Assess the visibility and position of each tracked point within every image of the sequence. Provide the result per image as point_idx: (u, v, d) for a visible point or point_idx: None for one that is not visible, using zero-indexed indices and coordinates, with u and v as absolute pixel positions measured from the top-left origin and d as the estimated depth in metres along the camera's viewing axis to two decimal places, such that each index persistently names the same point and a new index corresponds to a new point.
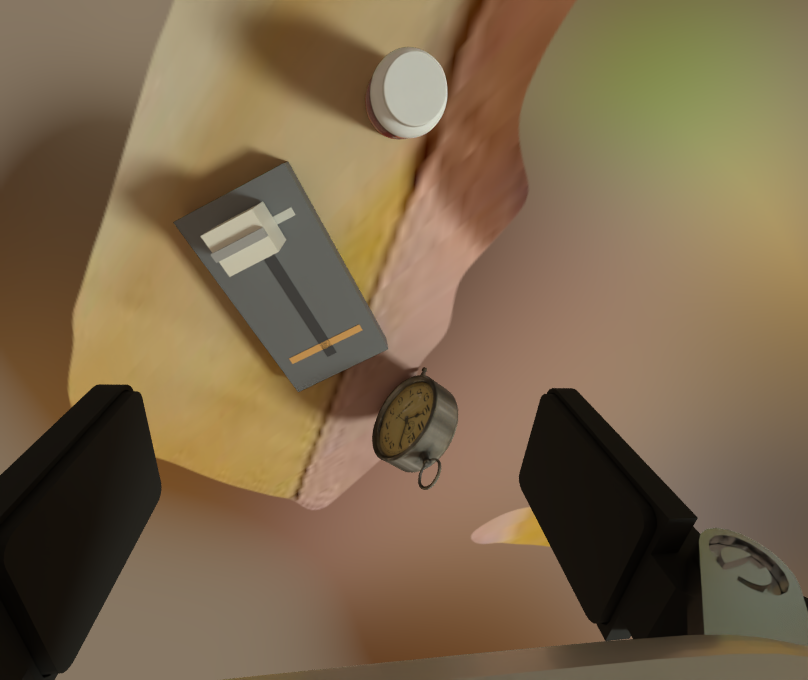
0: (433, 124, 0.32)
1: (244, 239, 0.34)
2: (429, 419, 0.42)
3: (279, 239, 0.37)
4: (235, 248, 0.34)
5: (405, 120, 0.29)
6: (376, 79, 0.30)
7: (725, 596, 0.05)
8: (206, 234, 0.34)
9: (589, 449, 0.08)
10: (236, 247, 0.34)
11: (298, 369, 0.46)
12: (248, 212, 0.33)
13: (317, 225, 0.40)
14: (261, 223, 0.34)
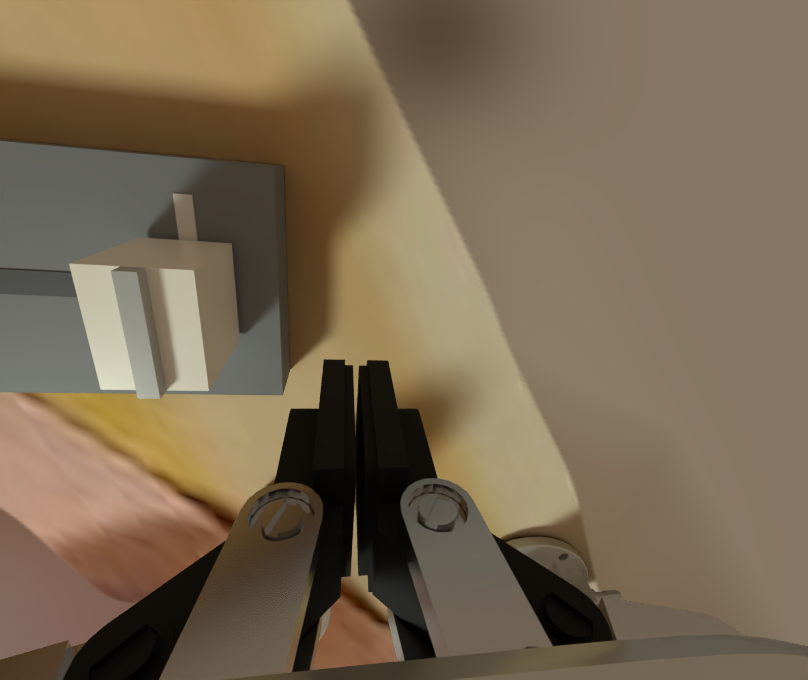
0: None
1: (147, 357, 0.15)
2: None
3: None
4: (133, 330, 0.14)
5: None
6: None
7: (437, 559, 0.05)
8: (192, 284, 0.14)
9: (364, 412, 0.08)
10: (134, 333, 0.14)
11: None
12: (205, 382, 0.16)
13: None
14: None
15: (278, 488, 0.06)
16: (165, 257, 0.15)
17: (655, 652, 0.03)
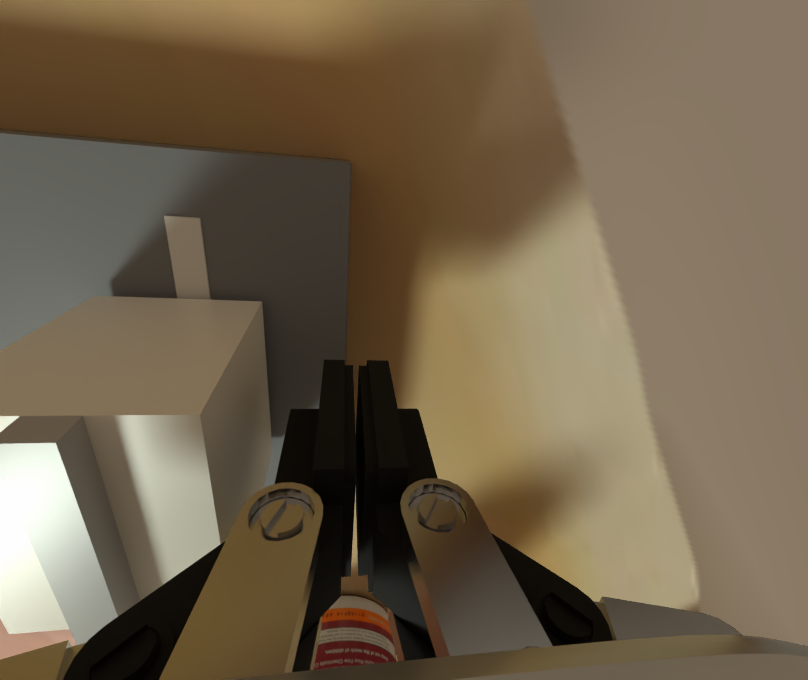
0: None
1: (99, 597, 0.07)
2: None
3: None
4: (60, 555, 0.06)
5: None
6: None
7: (437, 559, 0.05)
8: (197, 442, 0.06)
9: (364, 412, 0.08)
10: (64, 559, 0.06)
11: None
12: None
13: None
14: None
15: (278, 488, 0.06)
16: (137, 362, 0.07)
17: (655, 652, 0.03)
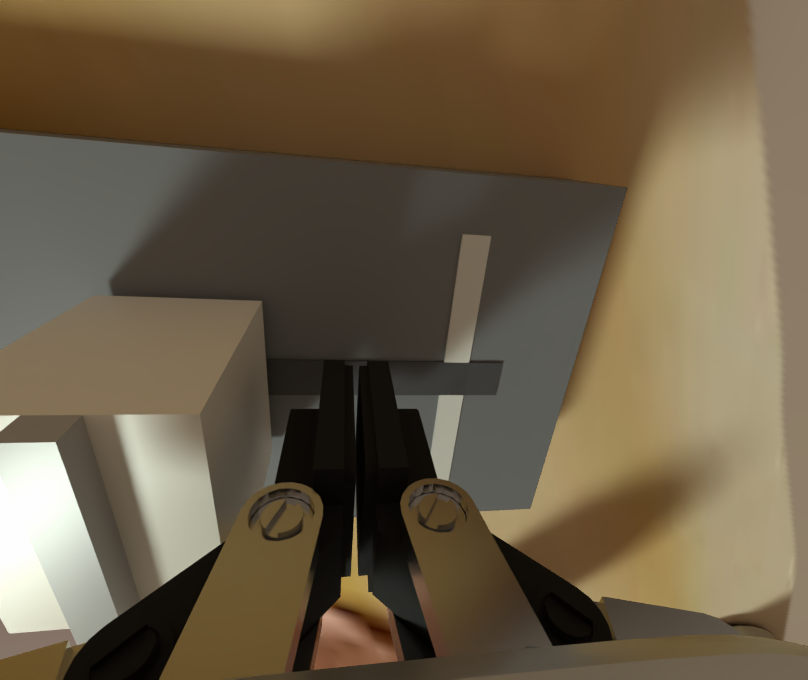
0: None
1: (99, 596, 0.07)
2: None
3: None
4: (60, 554, 0.06)
5: None
6: None
7: (437, 559, 0.05)
8: (197, 441, 0.06)
9: (363, 412, 0.08)
10: (64, 559, 0.06)
11: None
12: None
13: None
14: None
15: (278, 488, 0.06)
16: (136, 362, 0.07)
17: (655, 652, 0.03)
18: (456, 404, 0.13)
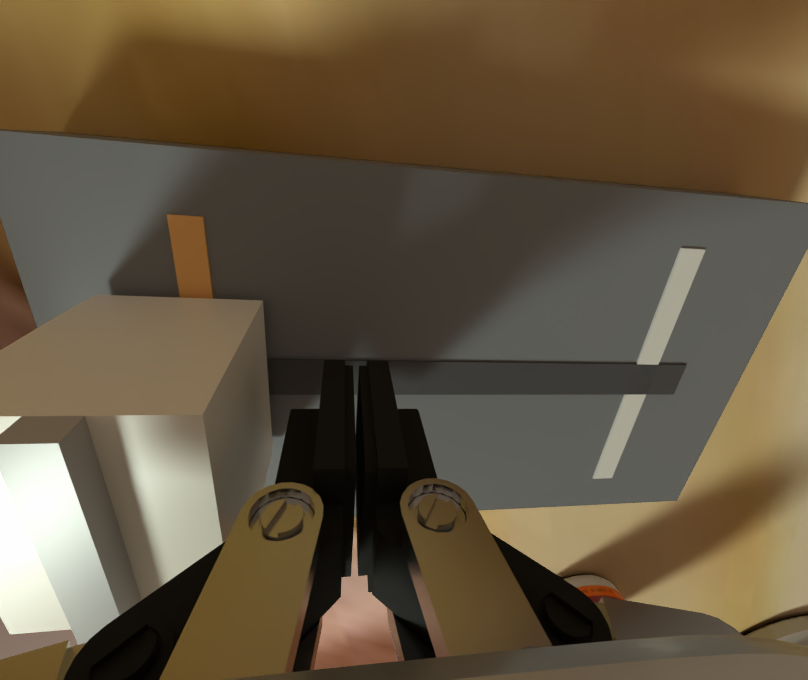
0: None
1: (101, 597, 0.07)
2: None
3: None
4: (63, 555, 0.06)
5: None
6: None
7: (437, 558, 0.05)
8: (200, 442, 0.06)
9: (363, 412, 0.08)
10: (67, 560, 0.06)
11: (127, 220, 0.10)
12: None
13: (541, 504, 0.16)
14: None
15: (278, 488, 0.06)
16: (138, 362, 0.07)
17: (655, 652, 0.03)
18: (636, 402, 0.14)
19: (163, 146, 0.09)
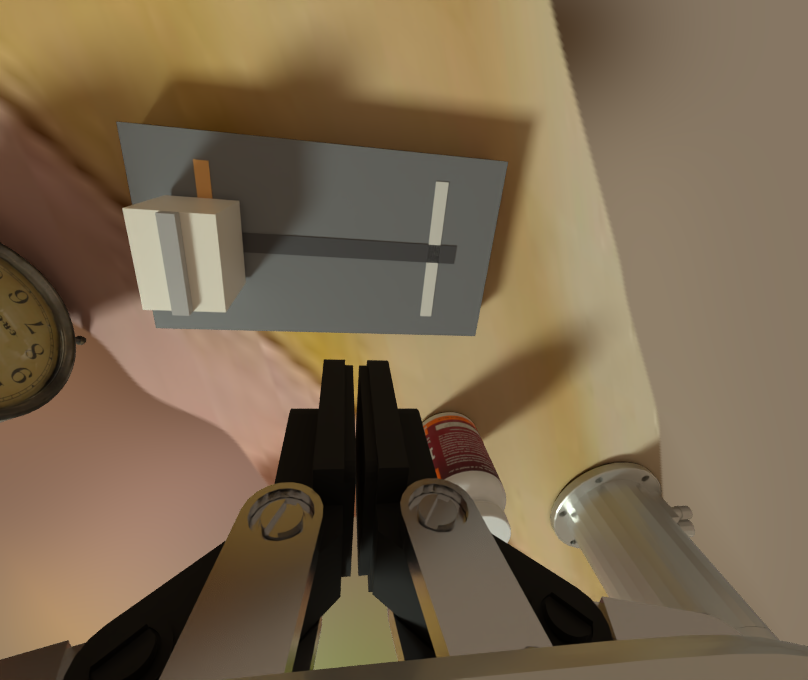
0: None
1: (180, 282, 0.19)
2: None
3: None
4: (170, 260, 0.19)
5: None
6: (499, 490, 0.30)
7: (437, 559, 0.05)
8: (214, 225, 0.19)
9: (363, 412, 0.08)
10: (171, 262, 0.19)
11: (176, 161, 0.22)
12: (222, 305, 0.21)
13: (393, 332, 0.29)
14: None
15: (278, 488, 0.06)
16: (191, 207, 0.20)
17: (655, 652, 0.03)
18: (435, 268, 0.27)
19: (192, 129, 0.22)
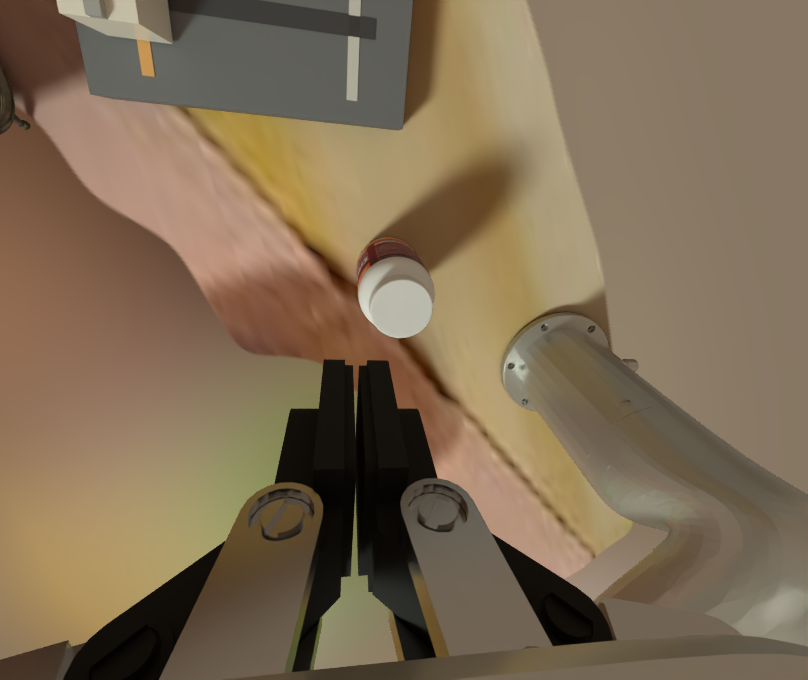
0: (362, 306, 0.31)
1: None
2: None
3: (97, 27, 0.24)
4: None
5: (383, 289, 0.28)
6: (424, 274, 0.31)
7: (437, 559, 0.05)
8: None
9: (363, 412, 0.08)
10: None
11: None
12: (135, 14, 0.22)
13: (321, 117, 0.30)
14: (114, 21, 0.22)
15: (278, 488, 0.06)
16: None
17: (655, 652, 0.03)
18: (357, 44, 0.29)
19: None
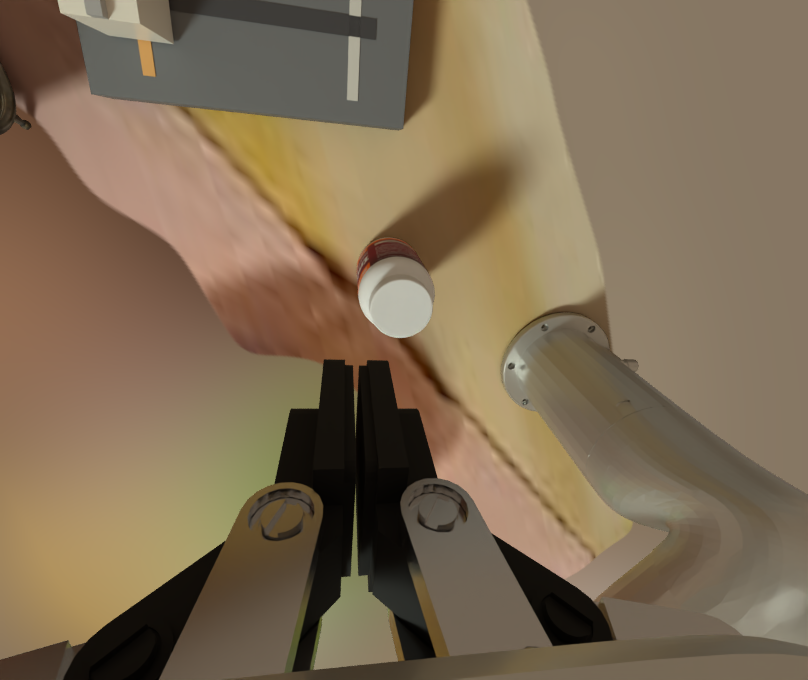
0: (362, 306, 0.31)
1: None
2: None
3: (98, 27, 0.24)
4: None
5: (383, 289, 0.28)
6: (424, 274, 0.31)
7: (437, 559, 0.05)
8: None
9: (364, 412, 0.08)
10: None
11: None
12: (136, 14, 0.22)
13: (322, 117, 0.30)
14: (115, 20, 0.22)
15: (278, 488, 0.06)
16: None
17: (655, 652, 0.03)
18: (357, 45, 0.29)
19: None
